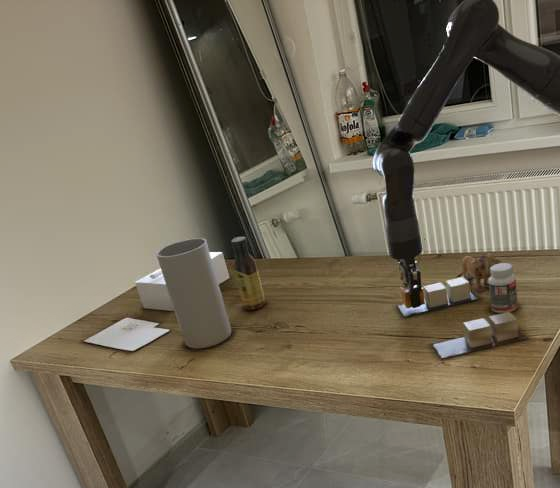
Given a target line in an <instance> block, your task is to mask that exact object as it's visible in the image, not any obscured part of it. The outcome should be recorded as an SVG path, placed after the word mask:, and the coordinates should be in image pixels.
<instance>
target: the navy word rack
mask: <svg viewBox="0 0 560 488" xmlns="http://www.w3.org/2000/svg"><path fill="white" fill-rule="evenodd" d="M422 288H423V294H424V301H425V304H423V305H421V306H420V307H416V308H412V307H411V308H406V306H405V305H404V304H400V305H397V308H398V310H399V311H400V312H401V314H402V316H403V317H404V318H408V317H413V316H416V315H420V314H425V313H430V312H433V311H439V310H442V309H446V308H449V307H455V306H459V305H462V304H463V305H464V304H467V303H471V302H476V301H478V298H477V297H476V296H475V295H474V294H473V293H472V292H471V286H470V282H469V281H468V280H467V278H466V279H465V278H464V277H463V276H461V277H457V278H452V279H448V280H445V285H444V284H443V282H442V281H440V282H436V283H432V284H427V285H423V287H422Z"/></svg>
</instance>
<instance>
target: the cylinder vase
mask: <svg viewBox="0 0 560 488" xmlns="http://www.w3.org/2000/svg"><path fill="white" fill-rule="evenodd" d="M209 252H210V249H209V246H208V243H207V239H205V238H201V237H199V238H198V237H197V238H188V239H184V240H180V241H176V242H174V243H173V242H172V243H171V244H168V245H166V246H163V247H162V248H161V249H159V250H158V251H157V252H156V257H157V260H158V264H159V267H160V268H161V270H162V273H163V276H164V280H165V283H166V286H167V289H168V292H169V295H170V298H171V301H172V304H173V308H174V311H173V312H174V314H175V316H176V320H177V323H178V326H179V330H180V332H181V335H182V339H183V341H184V345H185V346H187V347H188V348H190V349H194V350H195V349H196V350H198V349H199V350H200V349H206V348H207V349H208V348H211V347H214V346H217V345H220V344H221V343H223V342H225V341H226V340H227V339H228V338H229V337H230V336H231V334H232V327H231V324H230V320H229V316H228V313H227V310H226V306H225V302H224V298H223V295H222V292H221V288H220V284H218V281H217V277H216V274H215V270H214V267H213V263H212V260H211V256H210V253H209Z"/></svg>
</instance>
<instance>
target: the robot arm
mask: <svg viewBox="0 0 560 488" xmlns="http://www.w3.org/2000/svg"><path fill="white" fill-rule="evenodd" d="M446 24H447V25H446V32H447V38H446V40H445V43H444V45H443V47H442V49H441V51H440V52H439V54H438V56H437V58H436V60H435V62H434V63H433V64H432V66H431V67H430V69H429V70H428V72H427V73H426V75H425V77H424V78H423V79H422V81H421V82H420V84H419V85H418V86H417V88H416V89H415V91H414V93H413V94H412V96H411V97H410V99H409V101H408V102H407V104H406V106H405V108H404V110H403V112H402V113H401V115H400V117H399V119H398V121H397V123H396V124H395V125H394V126H393V127H392V128H391V129H390V130H389V132H388V133H387V134H386V136H385V137H384V138H383V139H382V141H380V143H379V145H378V147H377V148H376V150H375V152H374V154H373V157H372V168H373V170H374V172H375V173H376V174H377V175H378V176H379V177H381V178H384V185H385V186H384V187H385V192H384V193H383V195H382V207H383V214H384V222H385V224H384V225H385V234H386V241H387V245H388V251H389V252H388V253H389V257H390V258H391V259H393V260H396V263H397V268H398V271H399V276H400V277H399V278H400V280H401V281H402V286H406V285H408V290H409V291H408V292H409V294H410V301H411V306H412V308H416V307H420V306H421V300H420V294H419V292H422V288H423V287H422V275H421V270H420V267H419V263H418V261H416V259H415V258H417V256H419V255H421V254H422V252H423V244H422V243H423V242H422V235H421V230H420V229H421V228H420V222H419V218H418V215H417V210H416V209H417V208H416V203H415V202H416V201H415V197H414V191H415V178H416V177H415V175H416V173H415V172H416V171H415V170H416V169H415V163H414V159H413V157H412V154H411V153H410V152H411V151H412V149H413V148H414V147H415V146H416V145H417V144H420V143H422V142H423V141H424V140H425V139H426V138H427V136H428V135H429V133H430V131H431V130H432V128H433V126H434V125H435V123H436V121H437V120H438V118H439V117H440V114H441V112H442V111H443V109H444V107H445V106H446V103H447V102H448V100H449V98H450V96H451V94H452V93H453V91H454V89H455V87H456V86H457V84H458V83H459V81H460V79H461V77H462V76H463V75H464V73H465V71H466V69H467V68H468V67H469V65H470V64H471V63H472V61H473V60H474V58H475V59H476V60H478V61H481V62H482V63H484V64H485V65H488V66H489V67H491V68H492V69H494V70H495V71H497V72H498V73H499V74H500V75H501V76H503V77H504V78H505V79H507V80H508V81H509V82H510V83H512V84H513V85H514V86H516V87H517V88H518V89H520V90H521V92H523V93H525V94H526V95H527V96H529V97H530V98H531V99H532V100H534V101H536V102H537V103H539V104H540V105H541V106H543V108H546V109H548V111H550V112H552V113H554V114H556V115H558V116H560V55H559V54H557V53H556V52H554V51H551V50H549V49H547V48H545V47H542V46H539V45H537V44H534V43H531V42H529V41H526V40H523V39H520V38H519V37H517V36H515V35H514V34H512V33H510V32H509V31H508V30H506V29H505V28H504V27H503V26H502V25H500V11H499V8H498V5H497V3H496V2H495V1H494V0H463V1H462V2H461V3H460V4H459V5H458V6H457V7H456V8H455V9H454V10H453V11H452V13H451V14H450V16H449V18H448V21H447V23H446ZM415 285H416V287H415V288H413V286H415ZM421 287H422V288H421Z"/></svg>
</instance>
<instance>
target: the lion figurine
mask: <svg viewBox="0 0 560 488" xmlns="http://www.w3.org/2000/svg"><path fill="white" fill-rule="evenodd" d="M494 256H495V255H494V254H493V253H486V254H484V255H482V256H480V257H479V258H476V259H474V257H473V256H469V255H466V256H464V257H463V258H462V260H461V270H462V271H461V273H460V274H458V275H457V276H456V277H457V278H460V277H464V278H465V279H466V280H467V279H469V280H470V279H472V278H473V277H474V278H475V282H476V283H475V284H476V290H477V292H483V286H484V288H489V279H490V277H491V276H492V275H491V273H490V268H491V267H492V266H494V265H496V264H500V263H502V260H500V259H497V258H496V257H494ZM481 280H483V286H482V281H481Z"/></svg>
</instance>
